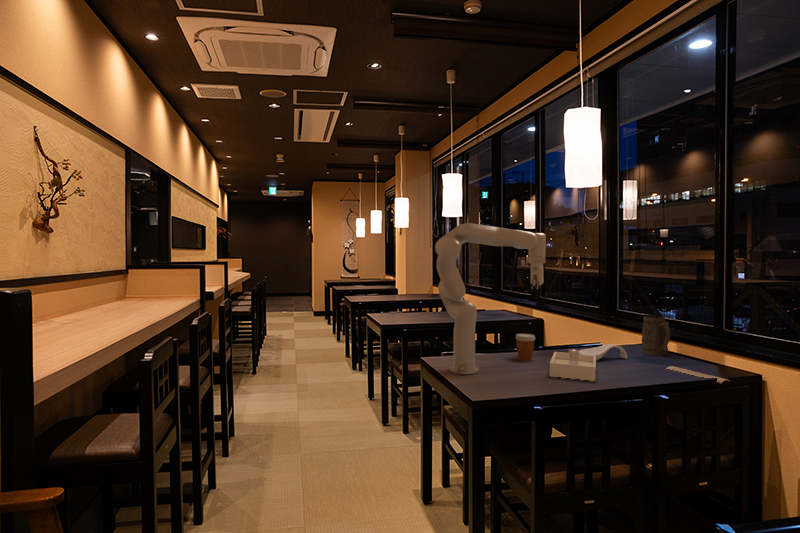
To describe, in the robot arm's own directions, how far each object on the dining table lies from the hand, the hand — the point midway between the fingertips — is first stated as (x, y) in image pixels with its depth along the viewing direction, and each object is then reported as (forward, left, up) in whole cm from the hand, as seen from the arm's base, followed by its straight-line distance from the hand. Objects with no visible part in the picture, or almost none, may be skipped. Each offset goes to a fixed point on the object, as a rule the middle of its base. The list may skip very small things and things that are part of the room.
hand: (536, 296), depth 213 cm
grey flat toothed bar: (+13, -67, -33) cm, 76 cm away
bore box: (-5, -17, -32) cm, 37 cm away
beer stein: (+48, -55, -32) cm, 80 cm away
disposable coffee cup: (+10, +6, -32) cm, 35 cm away
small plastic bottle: (-5, -17, -32) cm, 37 cm away
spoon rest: (+27, -29, -33) cm, 52 cm away
